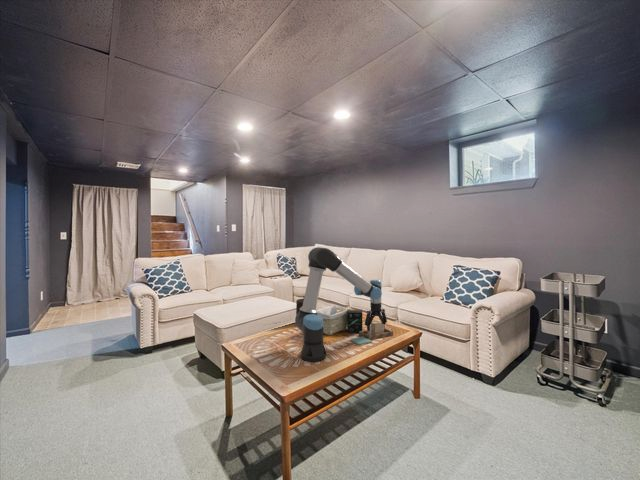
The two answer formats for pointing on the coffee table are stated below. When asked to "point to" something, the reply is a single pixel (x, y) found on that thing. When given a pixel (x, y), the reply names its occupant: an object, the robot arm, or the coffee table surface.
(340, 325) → the storage basket
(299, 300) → the wooden container
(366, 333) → the walnut bin
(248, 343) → the coffee table surface
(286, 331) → the coffee table surface
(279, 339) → the coffee table surface
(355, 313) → the tampon box
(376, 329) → the kraft box
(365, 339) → the teal pad
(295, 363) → the coffee table surface
